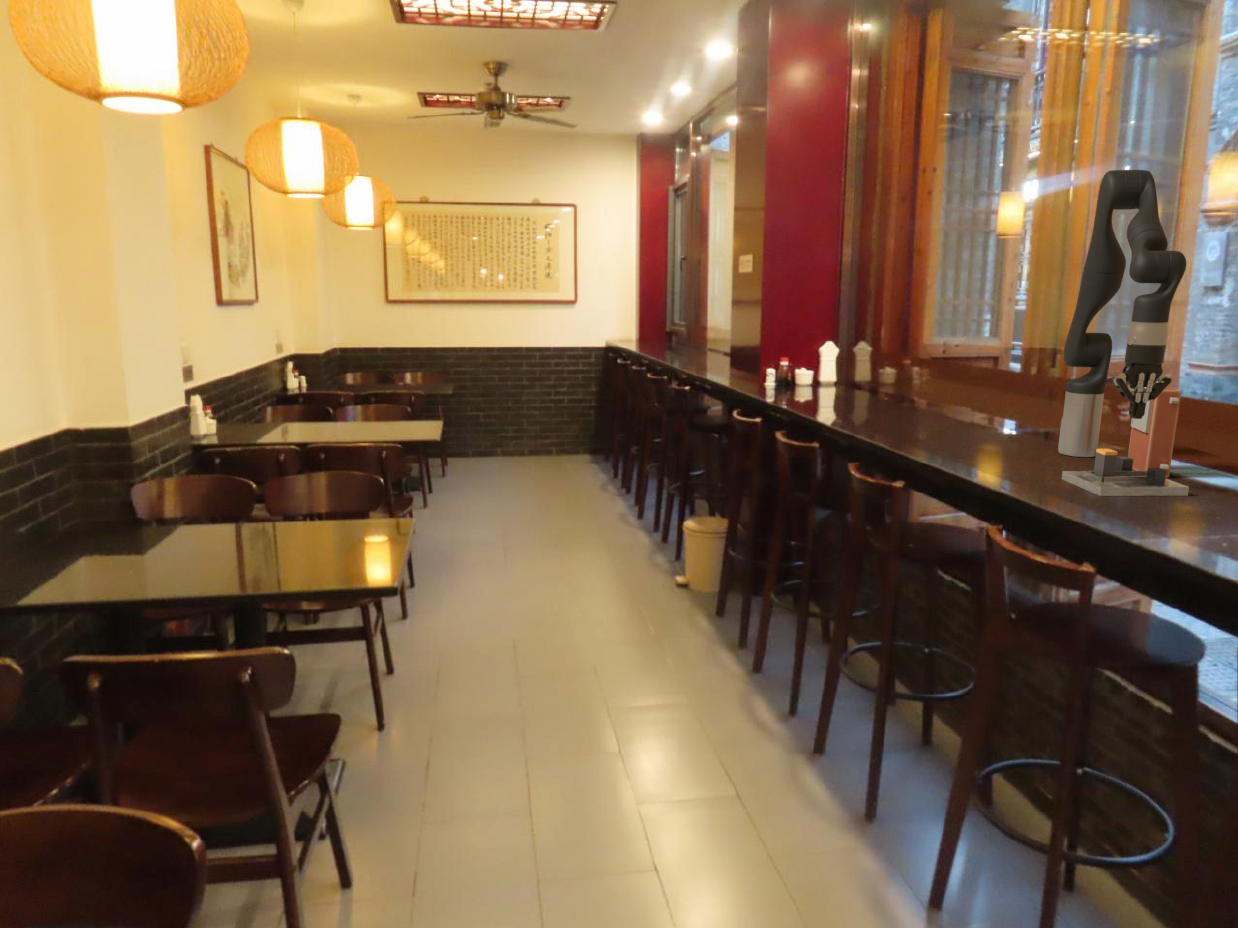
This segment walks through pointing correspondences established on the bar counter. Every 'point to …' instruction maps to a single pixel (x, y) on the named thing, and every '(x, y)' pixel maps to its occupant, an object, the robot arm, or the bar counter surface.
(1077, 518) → the bar counter surface
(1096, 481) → the breaker board
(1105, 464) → the block
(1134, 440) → the orange rectangular box
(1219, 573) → the bar counter surface
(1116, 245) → the robot arm
